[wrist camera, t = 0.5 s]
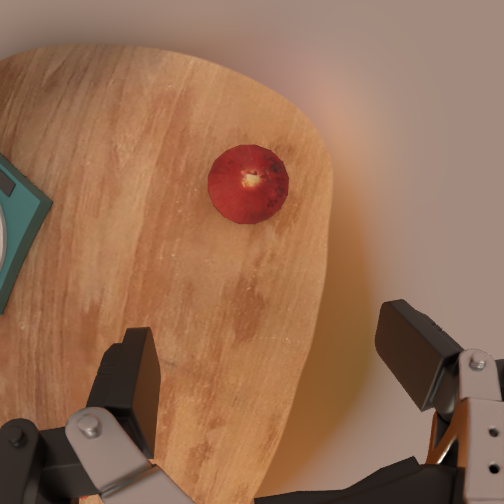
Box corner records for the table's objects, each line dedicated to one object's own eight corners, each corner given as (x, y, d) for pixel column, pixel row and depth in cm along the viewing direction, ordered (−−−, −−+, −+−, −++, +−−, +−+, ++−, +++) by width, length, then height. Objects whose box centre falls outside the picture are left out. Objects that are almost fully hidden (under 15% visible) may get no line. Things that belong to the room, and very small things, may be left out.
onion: (264, 145, 26) (281, 118, 18) (289, 208, 27) (315, 205, 19) (200, 169, 26) (190, 150, 18) (225, 233, 27) (225, 240, 19)
